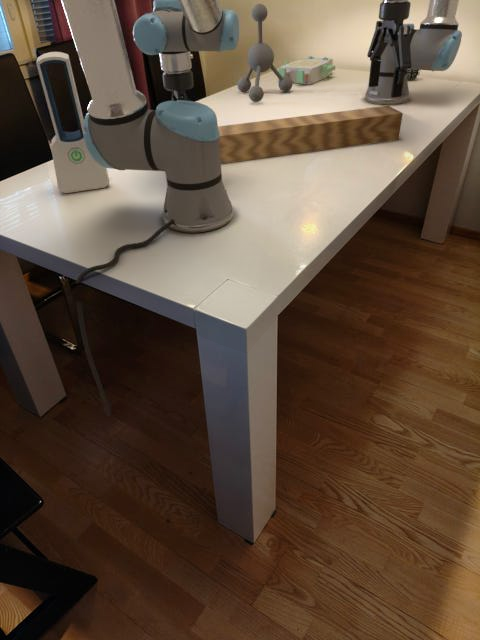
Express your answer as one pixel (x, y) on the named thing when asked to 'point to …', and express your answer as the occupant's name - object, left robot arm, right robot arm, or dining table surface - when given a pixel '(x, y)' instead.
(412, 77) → the grenade
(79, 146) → the electronic device
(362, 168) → the dining table surface
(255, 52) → the molecular model
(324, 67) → the clip lid food container
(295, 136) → the long wooden beam
